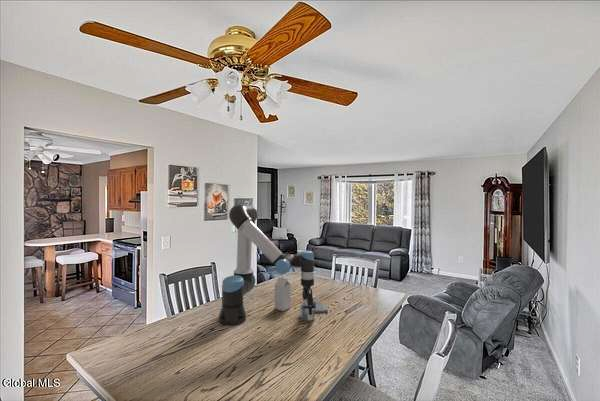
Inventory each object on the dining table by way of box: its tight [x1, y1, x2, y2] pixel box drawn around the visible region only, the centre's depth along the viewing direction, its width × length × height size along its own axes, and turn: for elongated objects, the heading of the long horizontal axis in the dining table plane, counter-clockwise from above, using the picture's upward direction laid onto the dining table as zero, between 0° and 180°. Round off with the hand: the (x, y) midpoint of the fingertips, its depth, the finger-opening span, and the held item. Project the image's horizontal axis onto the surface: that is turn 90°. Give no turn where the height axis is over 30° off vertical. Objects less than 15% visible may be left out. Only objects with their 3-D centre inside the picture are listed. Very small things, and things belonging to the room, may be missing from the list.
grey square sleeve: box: [299, 304, 315, 322], centre depth 165 cm, size 7×7×6 cm
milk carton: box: [274, 276, 292, 312], centre depth 179 cm, size 7×7×19 cm
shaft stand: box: [300, 294, 329, 314], centre depth 179 cm, size 14×14×8 cm
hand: (307, 315), depth 164 cm, fingers open, 13 cm apart
